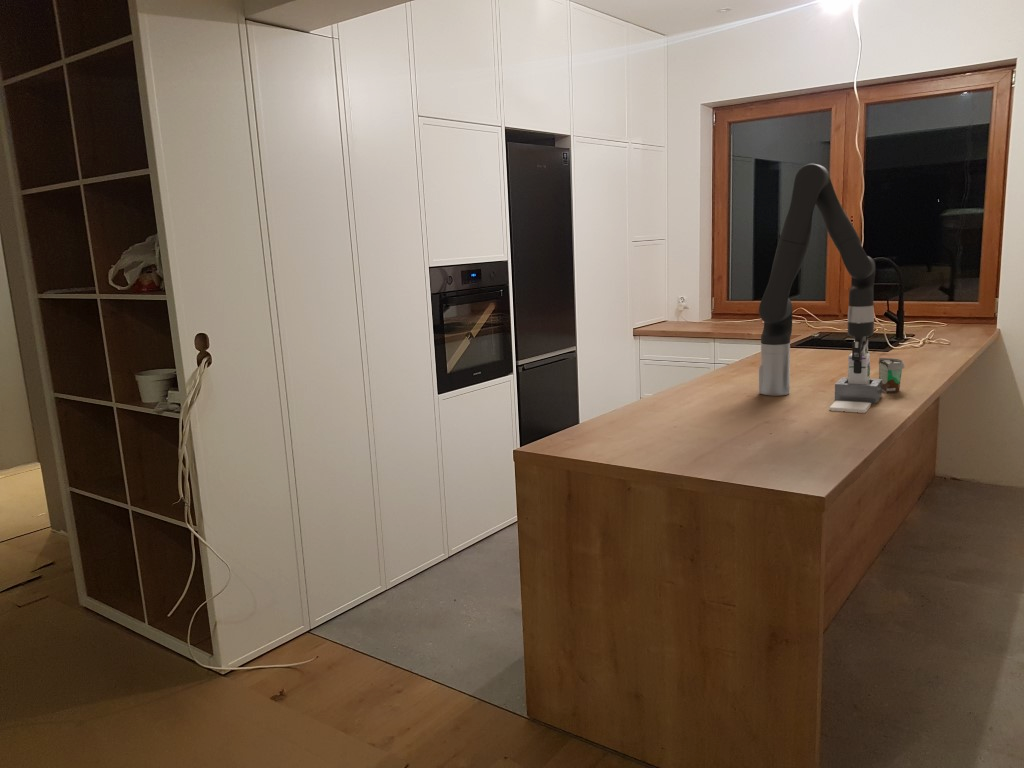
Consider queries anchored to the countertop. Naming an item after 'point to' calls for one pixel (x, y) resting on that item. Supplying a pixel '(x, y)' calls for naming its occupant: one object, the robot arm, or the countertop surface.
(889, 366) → the food container
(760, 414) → the countertop surface
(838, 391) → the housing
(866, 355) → the syrup box
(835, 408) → the pad
